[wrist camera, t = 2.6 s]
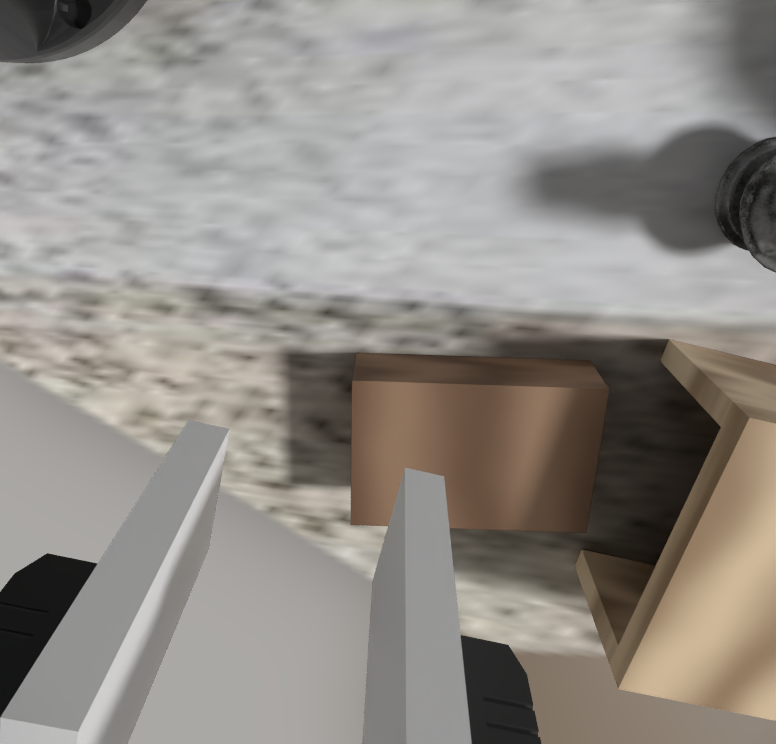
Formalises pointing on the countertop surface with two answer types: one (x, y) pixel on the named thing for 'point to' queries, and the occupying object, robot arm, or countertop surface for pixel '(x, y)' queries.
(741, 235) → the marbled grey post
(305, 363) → the countertop surface
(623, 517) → the countertop surface
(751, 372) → the oak bridge
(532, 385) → the dark brown block
